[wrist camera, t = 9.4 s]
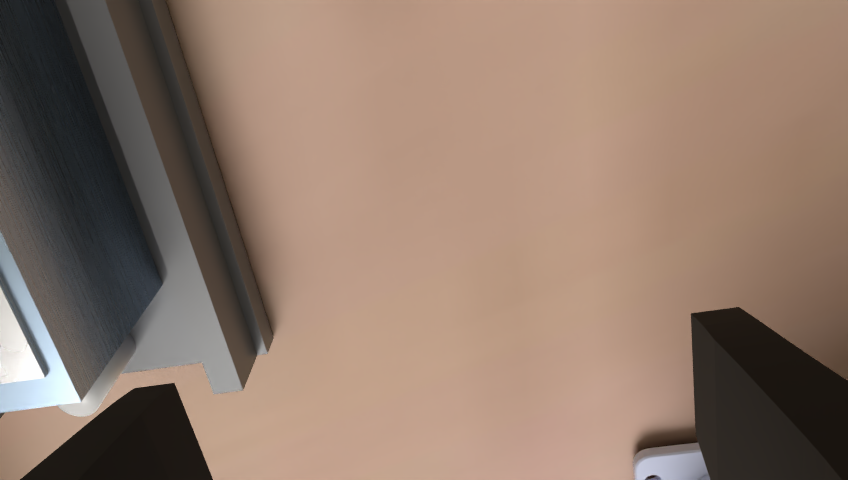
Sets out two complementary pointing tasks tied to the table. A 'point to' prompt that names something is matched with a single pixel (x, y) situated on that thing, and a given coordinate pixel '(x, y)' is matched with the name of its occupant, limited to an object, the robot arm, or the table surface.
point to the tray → (168, 200)
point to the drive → (59, 221)
